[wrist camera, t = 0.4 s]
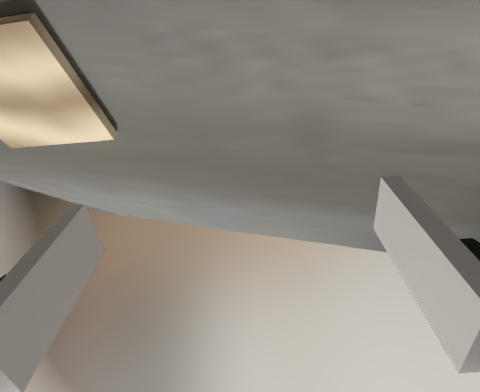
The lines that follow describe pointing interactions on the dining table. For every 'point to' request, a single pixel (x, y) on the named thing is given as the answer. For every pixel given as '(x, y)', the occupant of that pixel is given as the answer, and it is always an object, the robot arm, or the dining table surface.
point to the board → (43, 90)
